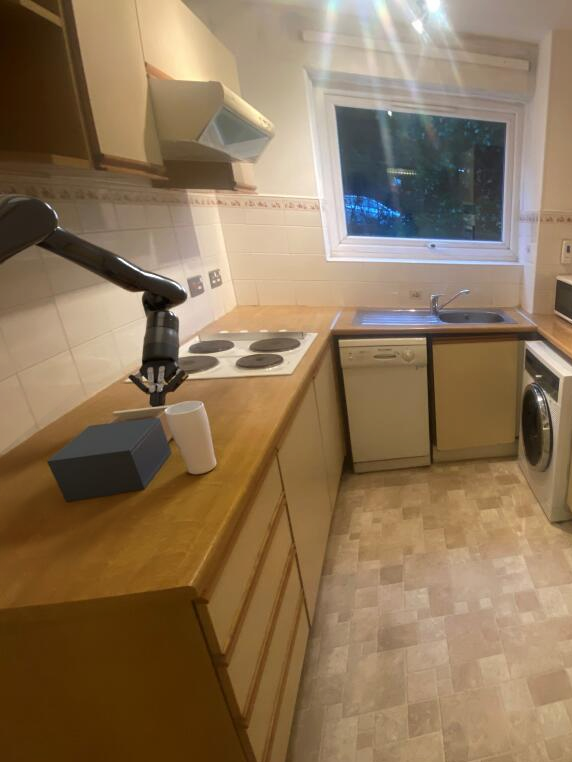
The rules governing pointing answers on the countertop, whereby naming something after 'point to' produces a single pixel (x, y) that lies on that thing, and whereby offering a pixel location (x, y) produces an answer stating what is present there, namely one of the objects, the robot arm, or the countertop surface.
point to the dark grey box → (110, 459)
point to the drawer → (143, 412)
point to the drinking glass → (192, 435)
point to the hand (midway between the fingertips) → (157, 407)
